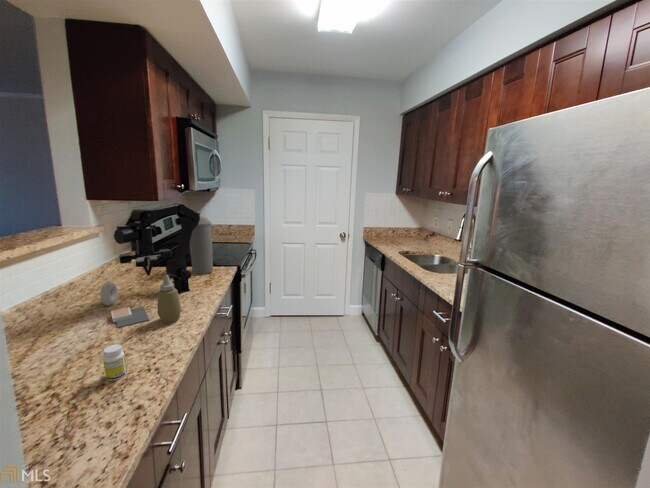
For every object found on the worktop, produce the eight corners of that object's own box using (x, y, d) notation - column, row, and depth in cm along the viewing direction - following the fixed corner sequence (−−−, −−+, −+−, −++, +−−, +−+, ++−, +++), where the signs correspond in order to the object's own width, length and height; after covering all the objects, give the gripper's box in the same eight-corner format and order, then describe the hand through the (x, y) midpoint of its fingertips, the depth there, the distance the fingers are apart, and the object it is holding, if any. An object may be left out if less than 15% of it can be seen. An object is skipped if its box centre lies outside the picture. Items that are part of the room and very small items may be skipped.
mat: (143, 307, 122) (143, 307, 122) (149, 320, 111) (149, 319, 111) (114, 314, 116) (114, 313, 116) (117, 328, 105) (117, 327, 105)
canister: (206, 267, 179) (202, 210, 171) (219, 271, 171) (215, 212, 164) (186, 272, 168) (181, 212, 161) (198, 277, 161) (194, 213, 154)
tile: (131, 313, 112) (112, 318, 108) (132, 318, 112) (113, 322, 109) (129, 306, 118) (110, 310, 114) (129, 310, 118) (111, 314, 115)
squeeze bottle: (186, 317, 115) (183, 273, 111) (170, 326, 107) (165, 280, 103) (170, 314, 117) (166, 271, 113) (153, 323, 110) (148, 277, 106)
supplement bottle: (113, 370, 82) (109, 343, 81) (130, 369, 83) (127, 343, 81) (101, 381, 78) (97, 353, 76) (120, 381, 78) (116, 353, 76)
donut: (109, 309, 120) (106, 286, 118) (100, 309, 119) (96, 286, 117) (120, 299, 130) (117, 278, 128) (111, 300, 129) (108, 278, 127)
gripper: (165, 234, 133) (168, 267, 136) (115, 238, 122) (120, 274, 125) (170, 238, 125) (174, 273, 128) (117, 243, 113) (122, 281, 116)
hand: (148, 275), depth 125 cm, fingers closed
